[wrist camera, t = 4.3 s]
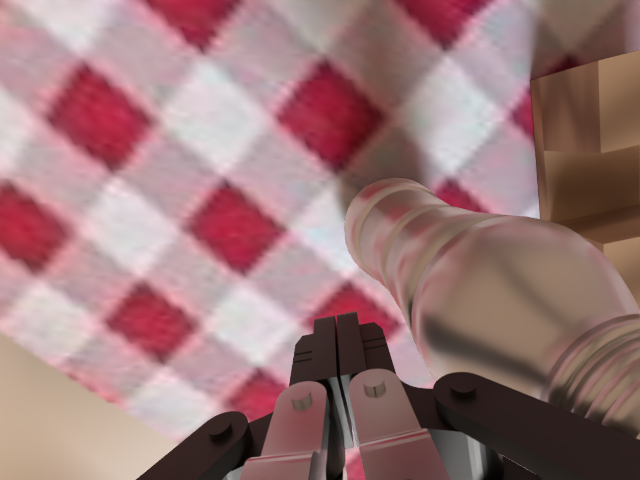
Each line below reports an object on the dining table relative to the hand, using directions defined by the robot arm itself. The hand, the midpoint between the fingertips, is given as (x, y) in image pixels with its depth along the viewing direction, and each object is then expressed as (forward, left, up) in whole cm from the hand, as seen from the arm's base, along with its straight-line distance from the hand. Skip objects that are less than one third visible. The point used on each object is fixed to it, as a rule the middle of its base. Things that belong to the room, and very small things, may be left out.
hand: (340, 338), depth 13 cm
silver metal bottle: (0, +4, -14) cm, 14 cm away
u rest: (0, +18, -14) cm, 22 cm away
